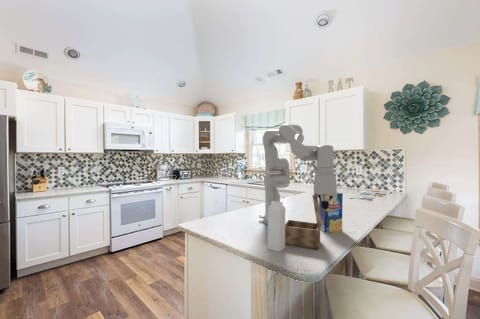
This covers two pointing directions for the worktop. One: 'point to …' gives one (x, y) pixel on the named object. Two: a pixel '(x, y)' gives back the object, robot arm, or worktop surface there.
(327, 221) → the beverage box
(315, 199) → the lid
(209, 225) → the worktop surface
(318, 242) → the crate
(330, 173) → the robot arm
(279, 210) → the milk
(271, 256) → the worktop surface
